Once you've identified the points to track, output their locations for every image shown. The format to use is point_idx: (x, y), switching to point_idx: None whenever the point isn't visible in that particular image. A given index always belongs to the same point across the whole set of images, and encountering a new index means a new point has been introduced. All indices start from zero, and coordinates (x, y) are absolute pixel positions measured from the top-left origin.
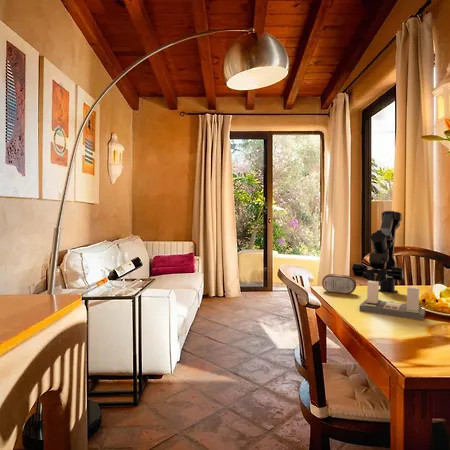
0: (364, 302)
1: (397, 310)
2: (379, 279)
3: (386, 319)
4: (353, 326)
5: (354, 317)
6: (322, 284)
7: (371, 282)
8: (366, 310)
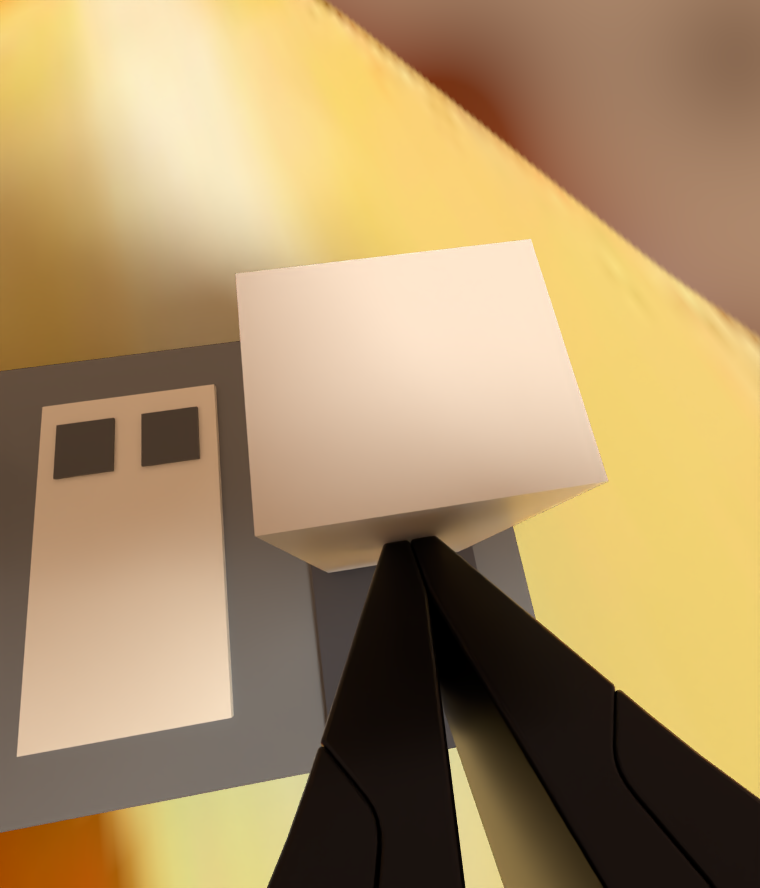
0: None
1: (51, 388)
2: (285, 867)
3: (164, 253)
4: (318, 4)
5: (394, 153)
6: None
7: (410, 255)
8: None
